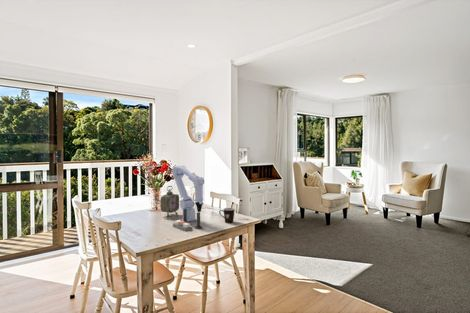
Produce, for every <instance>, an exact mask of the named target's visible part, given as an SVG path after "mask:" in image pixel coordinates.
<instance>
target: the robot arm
mask: <svg viewBox="0 0 470 313" xmlns="http://www.w3.org/2000/svg"><path fill="white" fill-rule="evenodd" d="M171 174H172V177H173V178H174V181H175V185H176V187H177V189H178V192H179V195H180V199H179V208H180V209H181V210H182V211H183V209H186V211H187V221H188V223H189V222H192V221H197V218H196V210H197V213H198V212H200V213H201V212H202V208H203V205H204V202H203V201H204V191H203V190H204V188H203V187H204V186H203V185H204V184H205V179H204V178H203V177H200V176H199V175H197V174H196V173H195V172H190V171H189V169H188V168H187V167H186V166H185V165H178V166H176V165H175V166H173V167H172V168H171ZM185 176H187V177H188V179H189V180H190V181H191V183H192V184H193V186H194V198H195V199H192V196H191V197H190V196H189V195H188V192H187V190H186V187H185V184H184V182H183V177H185ZM195 205H196V209H195V208H194V207H195ZM180 221H183V218H182V219H180Z"/></svg>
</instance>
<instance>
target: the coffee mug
mask: <svg viewBox="0 0 470 313" xmlns="http://www.w3.org/2000/svg"><path fill="white" fill-rule="evenodd" d="M221 212H223V215H224V216H223V215H222V213H221ZM218 213H219V214H220V216H221V217H222V218H223V219H224V223H226V224H232V223H234V218H235V208H233V207H224V208H223V209H220V210H219V212H218Z"/></svg>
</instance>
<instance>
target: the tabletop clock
mask: <svg viewBox="0 0 470 313" xmlns="http://www.w3.org/2000/svg"><path fill="white" fill-rule="evenodd" d="M169 187H170V188H171V189H170V188H169ZM166 191H167V192H166V194H163V195H162V196H160V199H159V200H160V201H159V202H160V203H159V204H160V211H161V212H163V213H166V215H167V216H166V217H167V218H169V217H170V214H172V213H175V215H178V210H179V209H180V196H179V195H180V194H175V193H173V186H172V185H168V186H167V188H166Z"/></svg>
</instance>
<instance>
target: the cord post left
mask: <svg viewBox="0 0 470 313" xmlns="http://www.w3.org/2000/svg"><path fill="white" fill-rule="evenodd" d="M182 219H183V221H185V222H186V223H189V222H188V221H187V211H186V209H183V210H182Z"/></svg>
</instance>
